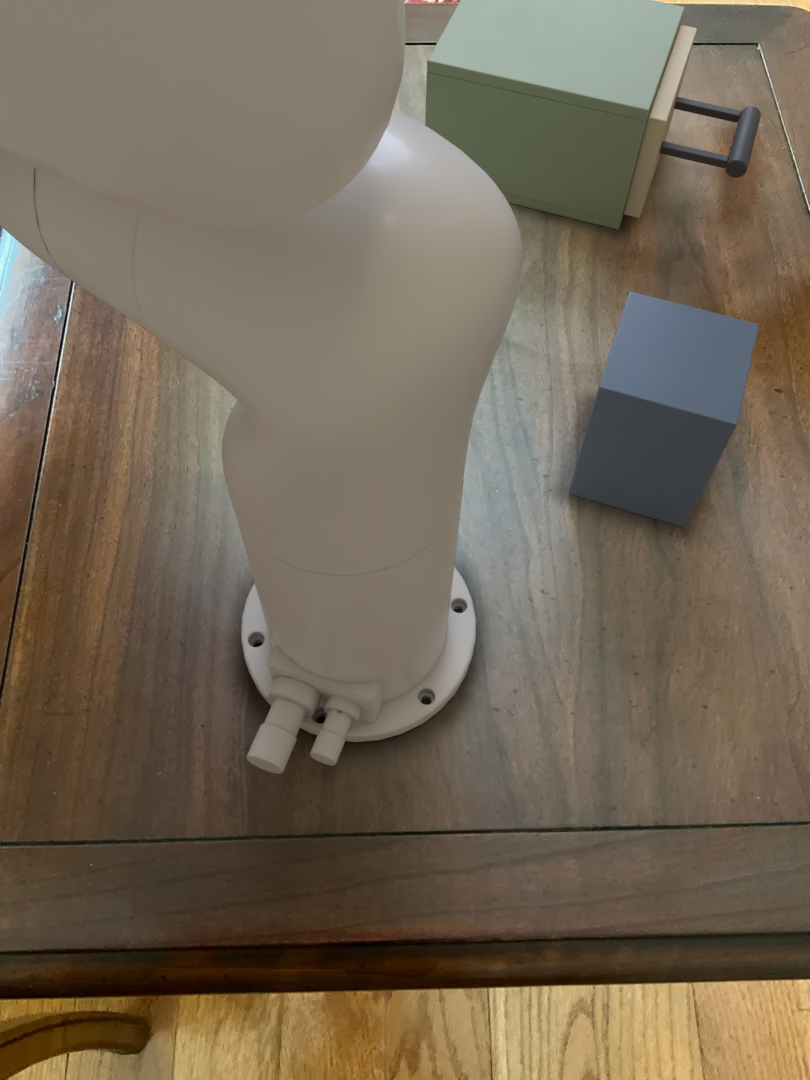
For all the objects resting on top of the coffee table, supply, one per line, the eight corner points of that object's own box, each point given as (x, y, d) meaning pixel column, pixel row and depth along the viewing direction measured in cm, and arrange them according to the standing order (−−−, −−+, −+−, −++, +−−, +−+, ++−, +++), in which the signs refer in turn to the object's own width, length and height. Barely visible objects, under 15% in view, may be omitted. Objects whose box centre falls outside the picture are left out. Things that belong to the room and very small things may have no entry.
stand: (684, 527, 56) (737, 425, 48) (567, 493, 57) (598, 387, 49) (706, 435, 59) (759, 323, 51) (595, 405, 61) (629, 290, 52)
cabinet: (652, 128, 74) (685, 6, 65) (618, 230, 68) (649, 110, 60) (470, 87, 76) (479, -36, 68) (423, 182, 71) (426, 60, 62)
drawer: (747, 144, 72) (784, 46, 65) (723, 238, 67) (760, 142, 60) (497, 88, 75) (507, -12, 68) (456, 174, 70) (462, 75, 63)
